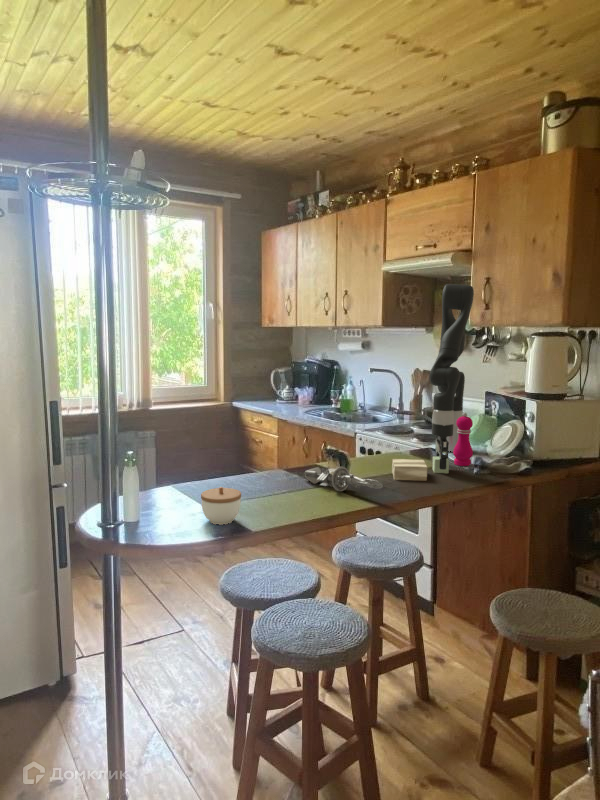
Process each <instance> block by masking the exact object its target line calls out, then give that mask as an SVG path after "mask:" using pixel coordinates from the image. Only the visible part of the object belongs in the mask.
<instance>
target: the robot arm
mask: <svg viewBox="0 0 600 800" xmlns="http://www.w3.org/2000/svg"><path fill="white" fill-rule="evenodd" d="M474 292H475V291H474V287H473V286H472V285H469V284H458V283H446V284H445V285H444V287H443V290H442V294H441V332H440V333H441V334H440V342H439V343H440V345H439V351H438V354H437V357H436V359H435V361H434V363H433V365H432V367H431V369H430V372H429V375H428V379H429V382H430V383H431V385H432V386H436V387H437V389H438V392H436V393H435V394H434V395H433V406H432V407H433V410H432V415H431V417H432V419H431V435H432V436H435V445H434V446H435V449H434V450H435V454H436V456H439V458H440V469H443V470H445V469H446V459H449V453H453V451H454V447H455V446H456V444H457V441H458V433H457V431H458V430H457V429H458V427H457V425H456V422H457V419H458V418H459V417H462V416H463V415H462V414H463V413H464V412H463V411H464V410H463V407H464V406H463V405H464V393H465V392H464V391H465V383H466V382H465V380H466V379H465V373H464V372H463V371H460V370H459V369H458V368H457V367H455V366H452V365H453V364H454V363H457V361H459V358H460V357H461V356H462V354H463V352H464V350H465V341H466V335H465V329H466V326H467V324H468V320H469V317H470V314H471V310H472V306H473V302H474ZM453 310H456V311H457V310H459V311H460V314H459V315H458V317H457V319H456V317H455V316H454V312H453ZM448 451H449V452H448ZM450 451H451V452H450Z"/></svg>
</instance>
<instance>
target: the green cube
mask: <svg viewBox="0 0 600 800" xmlns="http://www.w3.org/2000/svg"><path fill="white" fill-rule="evenodd" d="M449 466H450V459H449V458H448V459H446V469H445V470H443V469H440V458H439V456H432V471H433V473H434V474H449V473H450V471H449V470H450V467H449Z"/></svg>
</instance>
